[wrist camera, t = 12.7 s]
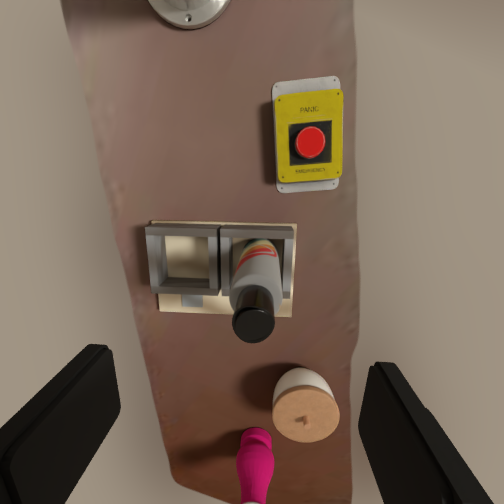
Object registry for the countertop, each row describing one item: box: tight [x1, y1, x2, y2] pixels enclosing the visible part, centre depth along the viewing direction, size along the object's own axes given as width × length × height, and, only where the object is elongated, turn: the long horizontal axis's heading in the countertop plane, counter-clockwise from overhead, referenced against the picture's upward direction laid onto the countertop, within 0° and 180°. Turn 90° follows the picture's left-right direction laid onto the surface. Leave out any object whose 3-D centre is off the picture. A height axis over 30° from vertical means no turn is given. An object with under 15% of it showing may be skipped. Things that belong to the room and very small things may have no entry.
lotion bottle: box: [229, 238, 283, 343], centre depth 31 cm, size 6×6×20 cm
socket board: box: [145, 220, 297, 317], centre depth 41 cm, size 16×23×5 cm
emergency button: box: [272, 76, 343, 193], centre depth 35 cm, size 9×4×15 cm
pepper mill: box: [236, 427, 274, 504], centre depth 43 cm, size 7×7×20 cm
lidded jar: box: [272, 368, 340, 442], centre depth 44 cm, size 11×11×9 cm
